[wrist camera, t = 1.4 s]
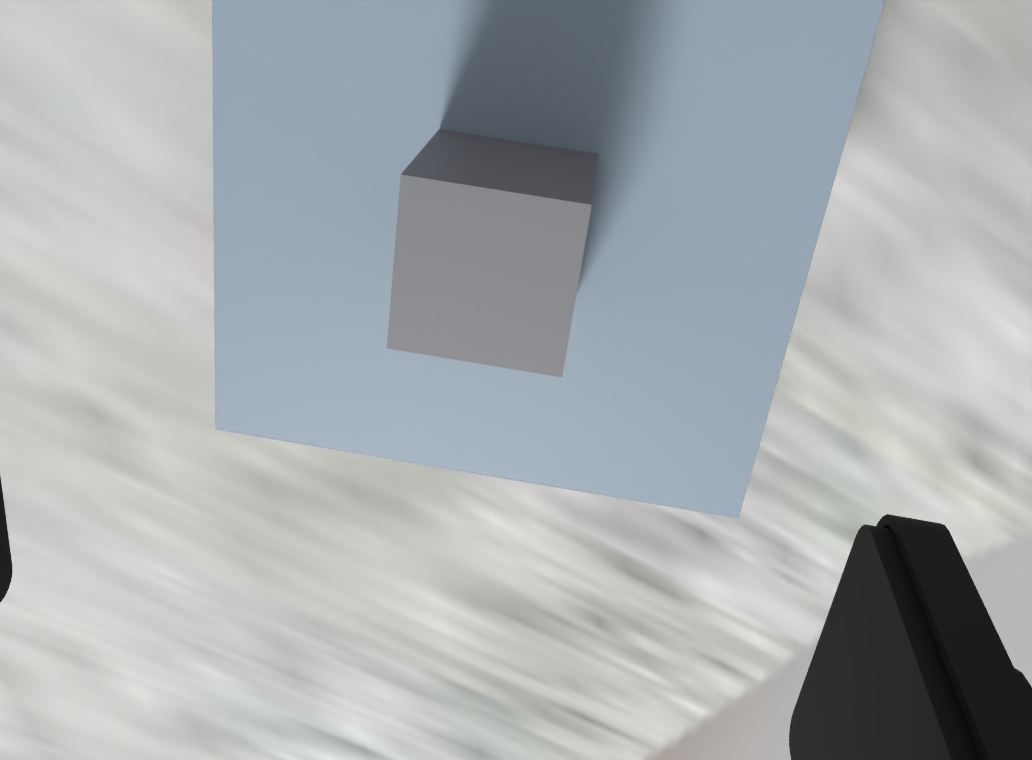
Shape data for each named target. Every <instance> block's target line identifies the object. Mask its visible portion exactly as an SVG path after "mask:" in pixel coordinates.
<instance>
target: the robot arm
mask: <svg viewBox="0 0 1032 760" xmlns="http://www.w3.org/2000/svg"><path fill="white" fill-rule="evenodd" d="M11 578H12V561H11V553H10V546H9V538H8V531H7V523H6V515H5V508H4V500H3V493H2V485H1V477H0V602H1V601H2V599H3V598H4V597H5V595H6V593H7V591H8V588H9V585H10V582H11ZM789 742H790V743H789V745H790V754H791V760H1032V687H1031V685H1030V684H1029V682H1028V681H1027V680H1026V678H1025V676H1024V675H1023V674H1022V672H1020V671H1018V670H1017V669H1015V668H1014V667H1013V665H1012V663H1011V660H1010V658H1009V656H1008V654H1007V652H1006V650H1005V648H1004V646H1003V644H1002V642H1001V639H1000V637H999V635H998V633H997V631H996V629H995V627H994V625H993V623H992V620H991V618H990V616H989V614H988V612H987V610H986V608H985V606H984V604H983V601H982V599H981V597H980V595H979V593H978V591H977V589H976V587H975V585H974V583H973V580H972V578H971V576H970V574H969V572H968V570H967V568H966V566H965V564H964V562H963V559H962V557H961V555H960V553H959V551H958V549H957V547H956V545H955V543H954V540H953V538H952V536H951V534H950V532H949V530H948V529H947V528H946V526H945V525H943V524H940V523H934V522H928V521H923V520H917V519H911V518H906V517H900V516H894V515H889V514H887V515H885V516H883V517H882V518H881V520H880V521H879V522H878V524H877V526H870V525H863V526H862V527H861V528H860V529H859V531H858V533H857V535H856V537H855V540H854V543H853V546H852V549H851V552H850V554H849V557H848V560H847V563H846V566H845V568H844V571H843V574H842V577H841V580H840V582H839V585H838V588H837V591H836V594H835V596H834V599H833V602H832V605H831V608H830V610H829V613H828V616H827V619H826V622H825V624H824V627H823V630H822V633H821V636H820V638H819V641H818V644H817V647H816V650H815V652H814V655H813V658H812V661H811V664H810V667H809V669H808V672H807V675H806V678H805V681H804V683H803V686H802V689H801V692H800V695H799V697H798V700H797V703H796V706H795V709H794V711H793V715H792V719H791V725H790V734H789Z"/></svg>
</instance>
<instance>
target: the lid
mask: <svg viewBox="0 0 1032 760" xmlns="http://www.w3.org/2000/svg"><path fill="white" fill-rule="evenodd" d="M884 2H885V0H212V24H213V163H214V302H215V429H216V430H222V431H227V432H233V433H239V434H245V435H251V436H257V437H263V438H269V439H274V440H280V441H286V442H292V443H298V444H304V445H310V446H316V447H322V448H327V449H333V450H339V451H345V452H351V453H357V454H363V455H369V456H375V457H380V458H386V459H392V460H398V461H404V462H410V463H416V464H422V465H427V466H433V467H439V468H445V469H451V470H457V471H463V472H469V473H475V474H480V475H486V476H492V477H498V478H504V479H510V480H516V481H522V482H527V483H533V484H539V485H545V486H551V487H557V488H563V489H569V490H575V491H580V492H586V493H592V494H598V495H604V496H610V497H616V498H622V499H628V500H633V501H639V502H645V503H651V504H657V505H663V506H669V507H675V508H680V509H686V510H692V511H698V512H704V513H710V514H716V515H722V516H728V517H733V518H739V515H740V511H741V508H742V504H743V500H744V497H745V493H746V490H747V486H748V483H749V479H750V476H751V472H752V469H753V465H754V462H755V458H756V455H757V451H758V448H759V444H760V440H761V437H762V433H763V430H764V426H765V423H766V419H767V416H768V412H769V409H770V405H771V402H772V398H773V395H774V391H775V387H776V384H777V380H778V377H779V373H780V370H781V366H782V363H783V359H784V356H785V352H786V349H787V345H788V342H789V338H790V334H791V331H792V327H793V324H794V320H795V317H796V313H797V310H798V306H799V303H800V299H801V296H802V292H803V289H804V285H805V281H806V278H807V274H808V271H809V267H810V264H811V260H812V257H813V253H814V250H815V246H816V243H817V239H818V236H819V232H820V228H821V225H822V221H823V218H824V214H825V211H826V207H827V204H828V200H829V197H830V193H831V190H832V186H833V183H834V179H835V175H836V172H837V168H838V165H839V161H840V158H841V154H842V151H843V147H844V144H845V140H846V137H847V133H848V130H849V126H850V122H851V119H852V115H853V112H854V108H855V105H856V101H857V98H858V94H859V91H860V87H861V84H862V80H863V77H864V73H865V70H866V66H867V62H868V59H869V55H870V52H871V48H872V45H873V41H874V38H875V34H876V31H877V27H878V24H879V20H880V17H881V13H882V9H883V6H884Z"/></svg>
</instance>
